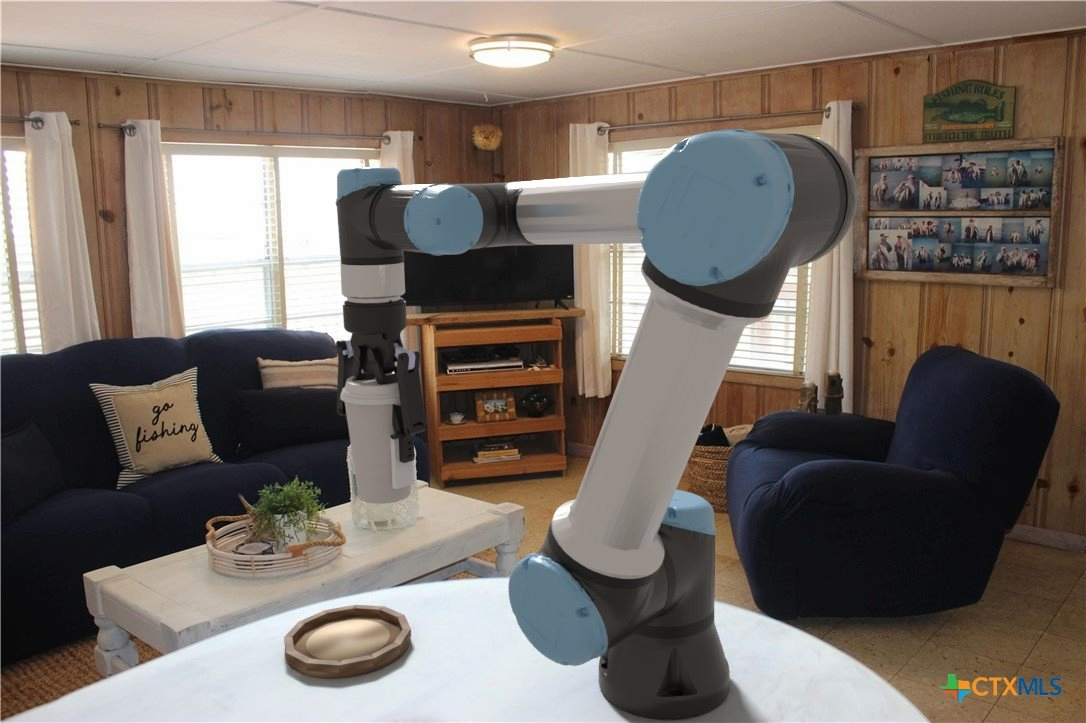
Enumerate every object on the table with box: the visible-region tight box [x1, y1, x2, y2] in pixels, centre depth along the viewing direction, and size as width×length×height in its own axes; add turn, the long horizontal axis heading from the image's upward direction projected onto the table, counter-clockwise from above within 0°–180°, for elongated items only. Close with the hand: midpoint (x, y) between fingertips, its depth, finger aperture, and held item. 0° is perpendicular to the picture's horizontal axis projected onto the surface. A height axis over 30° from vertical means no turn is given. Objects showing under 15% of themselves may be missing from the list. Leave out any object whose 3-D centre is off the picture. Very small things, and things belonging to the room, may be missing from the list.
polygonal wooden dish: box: [283, 604, 412, 680], centre depth 116 cm, size 16×16×2 cm
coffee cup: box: [340, 371, 412, 505], centre depth 112 cm, size 10×10×15 cm
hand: (382, 478), depth 113 cm, fingers closed on coffee cup, 7 cm apart
